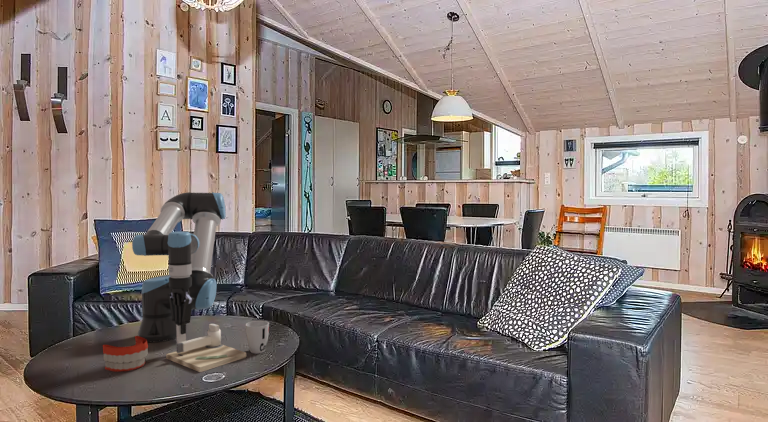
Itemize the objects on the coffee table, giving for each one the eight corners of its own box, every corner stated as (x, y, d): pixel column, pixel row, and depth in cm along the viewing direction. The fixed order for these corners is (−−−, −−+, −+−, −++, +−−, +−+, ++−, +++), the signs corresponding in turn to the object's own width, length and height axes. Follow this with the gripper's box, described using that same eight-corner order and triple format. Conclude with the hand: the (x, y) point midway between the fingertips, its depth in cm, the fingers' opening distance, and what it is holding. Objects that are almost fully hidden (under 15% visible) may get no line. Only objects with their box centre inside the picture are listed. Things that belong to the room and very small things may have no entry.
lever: (215, 341, 192) (215, 322, 191) (223, 344, 189) (223, 324, 188) (173, 353, 179) (173, 332, 178) (181, 356, 176) (180, 335, 175)
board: (166, 358, 179) (166, 353, 179) (213, 345, 194) (213, 340, 194) (200, 372, 167) (200, 366, 167) (247, 356, 182) (247, 351, 182)
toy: (120, 376, 164) (120, 351, 163) (102, 369, 169) (101, 345, 169) (156, 364, 174) (156, 340, 174) (138, 358, 180) (137, 335, 179)
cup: (263, 355, 183) (263, 327, 182) (241, 354, 185) (241, 326, 184) (272, 348, 191) (272, 321, 190) (252, 346, 193) (251, 319, 192)
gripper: (160, 275, 184) (161, 341, 186) (180, 280, 176) (181, 348, 178) (179, 272, 190) (180, 336, 192) (200, 276, 182) (201, 343, 184)
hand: (181, 342), depth 185 cm, fingers closed
